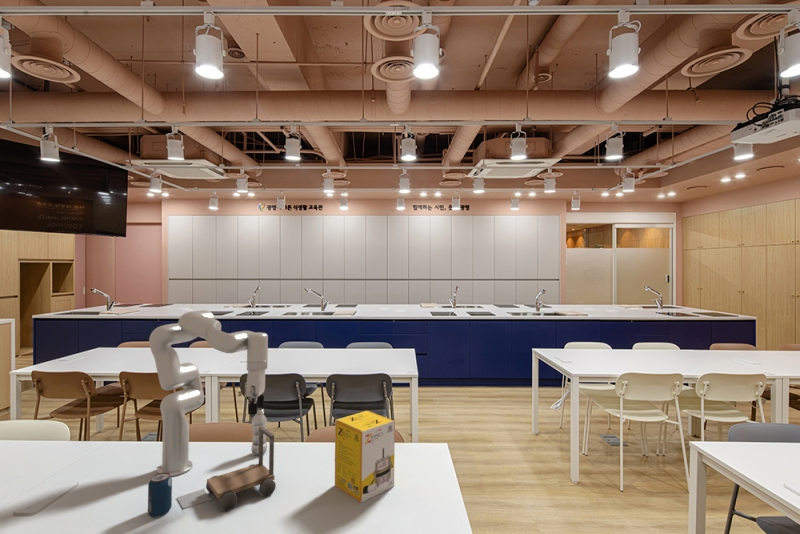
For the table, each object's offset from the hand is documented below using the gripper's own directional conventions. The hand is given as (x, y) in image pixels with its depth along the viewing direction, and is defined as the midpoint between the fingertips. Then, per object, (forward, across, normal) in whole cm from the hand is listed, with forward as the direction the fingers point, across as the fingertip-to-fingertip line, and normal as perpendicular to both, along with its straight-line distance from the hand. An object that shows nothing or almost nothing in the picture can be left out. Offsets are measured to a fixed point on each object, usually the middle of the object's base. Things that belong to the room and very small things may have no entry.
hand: (256, 409), depth 154 cm
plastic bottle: (+29, -27, -6) cm, 40 cm away
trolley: (+29, +6, -3) cm, 30 cm away
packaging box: (+29, +3, +42) cm, 51 cm away
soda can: (+29, +16, -27) cm, 43 cm away
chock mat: (+29, +8, -19) cm, 36 cm away
